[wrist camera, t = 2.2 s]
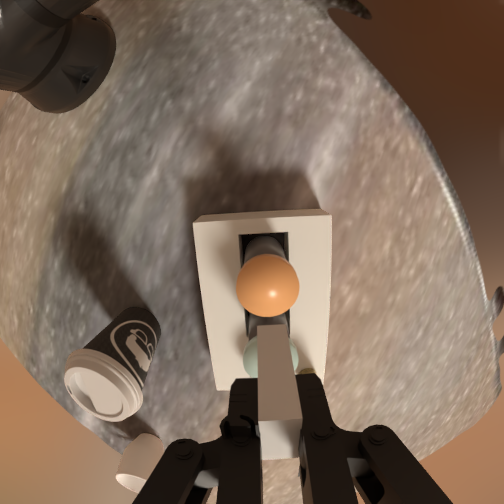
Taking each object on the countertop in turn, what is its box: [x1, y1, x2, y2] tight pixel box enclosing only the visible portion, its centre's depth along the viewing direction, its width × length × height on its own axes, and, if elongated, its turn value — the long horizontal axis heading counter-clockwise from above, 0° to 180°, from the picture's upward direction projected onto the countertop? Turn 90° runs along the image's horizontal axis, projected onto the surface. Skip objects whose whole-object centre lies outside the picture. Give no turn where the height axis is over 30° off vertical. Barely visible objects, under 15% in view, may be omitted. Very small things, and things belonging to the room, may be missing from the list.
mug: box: [116, 433, 164, 493], centre depth 40 cm, size 12×9×12 cm
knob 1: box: [236, 236, 300, 317], centre depth 26 cm, size 5×5×9 cm
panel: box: [193, 209, 332, 390], centre depth 34 cm, size 22×14×5 cm, turn 4°
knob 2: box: [243, 312, 299, 378], centre depth 28 cm, size 5×5×9 cm
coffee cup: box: [64, 307, 161, 422], centre depth 31 cm, size 10×10×15 cm
